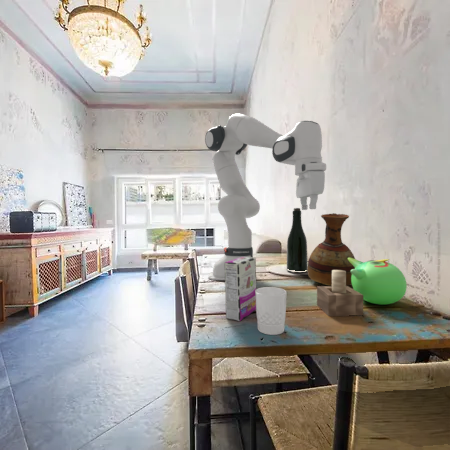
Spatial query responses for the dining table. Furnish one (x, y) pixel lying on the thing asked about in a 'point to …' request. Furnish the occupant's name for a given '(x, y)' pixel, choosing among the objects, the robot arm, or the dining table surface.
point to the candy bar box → (240, 287)
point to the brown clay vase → (331, 253)
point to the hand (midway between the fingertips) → (308, 209)
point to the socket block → (339, 301)
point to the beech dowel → (338, 281)
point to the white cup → (271, 310)
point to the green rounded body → (378, 281)
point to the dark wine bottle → (297, 245)
